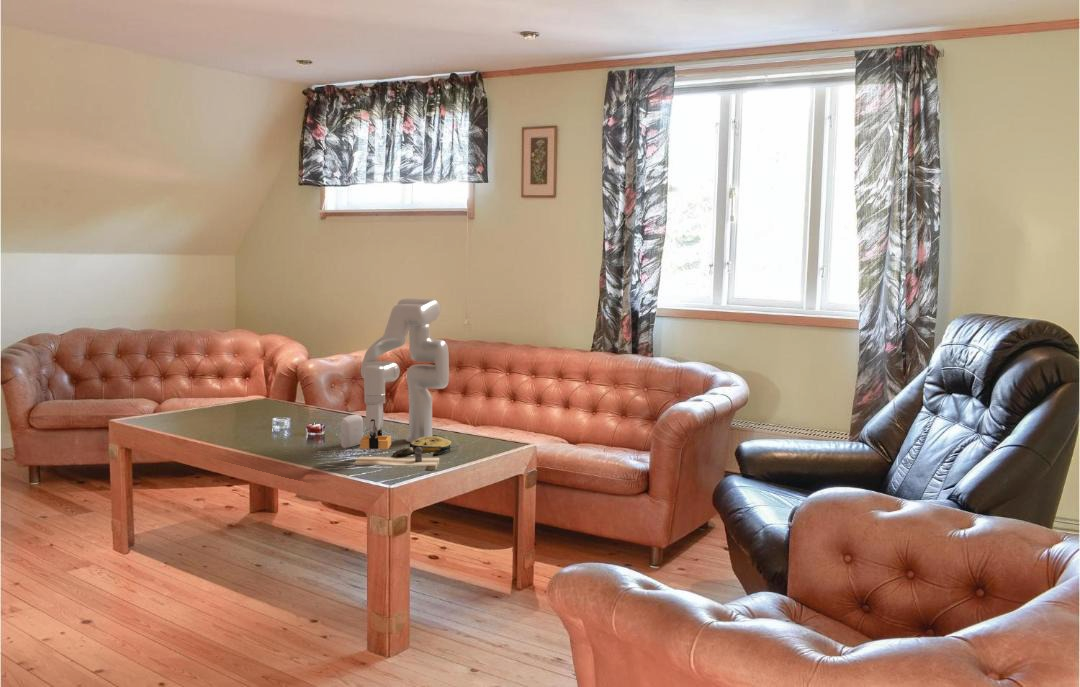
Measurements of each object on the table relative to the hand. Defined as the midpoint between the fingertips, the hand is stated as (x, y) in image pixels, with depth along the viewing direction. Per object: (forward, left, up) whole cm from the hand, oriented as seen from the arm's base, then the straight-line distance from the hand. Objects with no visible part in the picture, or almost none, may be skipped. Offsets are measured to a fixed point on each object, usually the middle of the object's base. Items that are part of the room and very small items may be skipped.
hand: (375, 445), depth 325 cm
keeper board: (+1, +8, -7) cm, 11 cm away
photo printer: (-29, -15, -7) cm, 34 cm away
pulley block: (-17, +15, -7) cm, 24 cm away
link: (0, 0, 0) cm, 0 cm away
